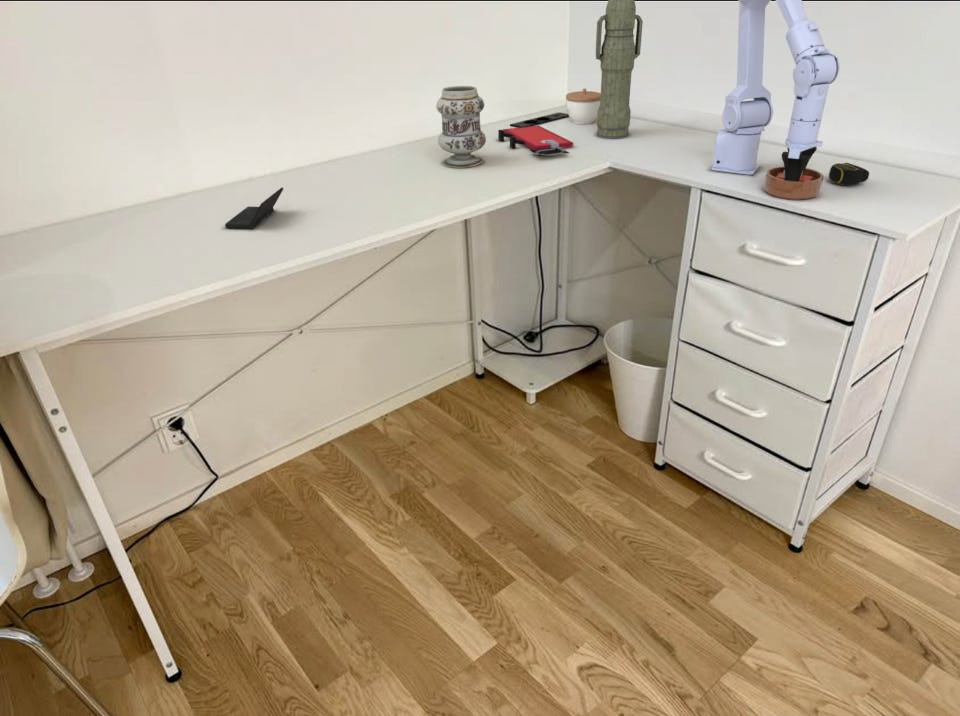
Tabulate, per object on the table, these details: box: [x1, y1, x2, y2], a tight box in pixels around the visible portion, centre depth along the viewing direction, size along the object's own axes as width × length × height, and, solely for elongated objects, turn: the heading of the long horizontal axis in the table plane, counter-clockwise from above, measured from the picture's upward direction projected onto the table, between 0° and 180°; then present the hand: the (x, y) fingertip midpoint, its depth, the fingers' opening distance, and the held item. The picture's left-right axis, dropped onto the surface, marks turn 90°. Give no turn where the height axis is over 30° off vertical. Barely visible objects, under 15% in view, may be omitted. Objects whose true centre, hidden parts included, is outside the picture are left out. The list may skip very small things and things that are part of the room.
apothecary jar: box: [435, 85, 487, 169], centre depth 173 cm, size 12×12×18 cm
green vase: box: [595, 0, 644, 140], centre depth 187 cm, size 9×12×35 cm
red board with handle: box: [497, 125, 574, 157], centre depth 189 cm, size 30×3×15 cm
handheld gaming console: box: [224, 187, 284, 230], centre depth 145 cm, size 12×7×10 cm
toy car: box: [776, 170, 813, 181], centre depth 149 cm, size 7×4×4 cm, turn 59°
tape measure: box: [828, 162, 870, 186], centre depth 153 cm, size 7×7×4 cm
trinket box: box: [565, 88, 601, 125], centre depth 208 cm, size 11×11×9 cm
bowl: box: [763, 165, 824, 201], centre depth 149 cm, size 11×11×4 cm
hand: (792, 183), depth 149 cm, fingers closed on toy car, 4 cm apart
